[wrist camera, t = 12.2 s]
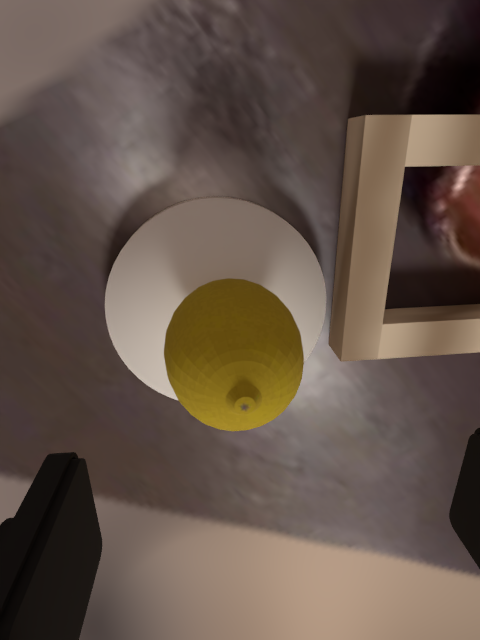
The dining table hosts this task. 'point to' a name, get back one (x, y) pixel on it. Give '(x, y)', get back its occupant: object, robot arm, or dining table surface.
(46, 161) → the dining table surface
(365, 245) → the frame
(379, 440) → the dining table surface
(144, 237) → the saucer
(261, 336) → the lemon
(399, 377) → the dining table surface
